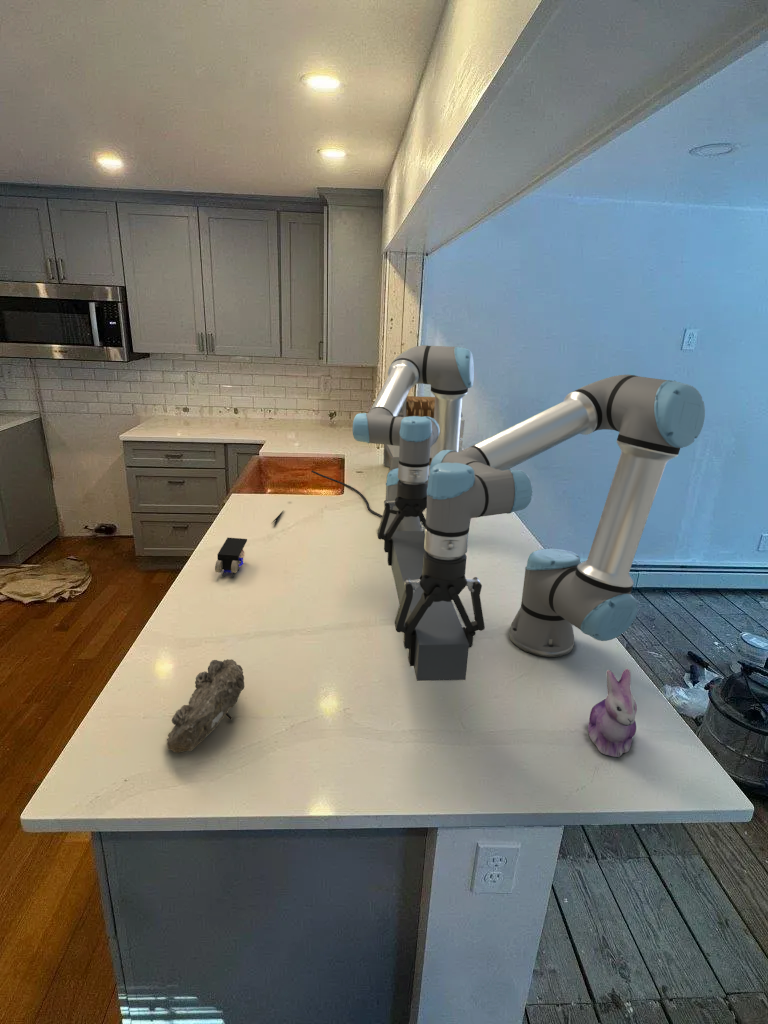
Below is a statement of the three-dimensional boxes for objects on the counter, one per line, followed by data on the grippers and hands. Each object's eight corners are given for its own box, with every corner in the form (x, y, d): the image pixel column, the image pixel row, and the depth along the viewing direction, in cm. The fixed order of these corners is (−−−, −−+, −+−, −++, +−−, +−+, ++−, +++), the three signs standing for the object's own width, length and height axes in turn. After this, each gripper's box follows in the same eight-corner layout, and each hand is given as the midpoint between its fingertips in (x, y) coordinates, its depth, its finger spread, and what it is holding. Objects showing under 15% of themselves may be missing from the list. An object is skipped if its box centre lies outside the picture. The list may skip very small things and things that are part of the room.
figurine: (615, 767, 100) (631, 697, 95) (572, 730, 109) (585, 664, 103) (651, 751, 104) (668, 682, 99) (607, 716, 113) (621, 652, 108)
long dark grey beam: (389, 557, 152) (390, 530, 149) (422, 557, 153) (423, 531, 150) (416, 681, 101) (419, 644, 99) (465, 680, 102) (469, 644, 100)
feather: (290, 505, 227) (293, 501, 226) (273, 528, 200) (276, 524, 200) (286, 502, 226) (289, 498, 226) (269, 525, 200) (272, 521, 199)
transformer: (382, 463, 289) (386, 382, 275) (445, 464, 293) (451, 384, 279) (390, 482, 257) (394, 392, 243) (460, 483, 261) (468, 394, 247)
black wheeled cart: (238, 584, 162) (249, 557, 175) (236, 562, 158) (247, 536, 172) (215, 584, 161) (227, 556, 175) (212, 561, 158) (225, 535, 171)
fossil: (192, 660, 117) (244, 628, 112) (224, 691, 120) (276, 661, 115) (142, 746, 98) (202, 712, 93) (182, 779, 101) (242, 748, 96)
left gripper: (369, 484, 135) (367, 569, 143) (459, 485, 137) (451, 569, 145) (368, 475, 142) (365, 557, 150) (453, 476, 144) (446, 557, 152)
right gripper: (385, 561, 94) (380, 675, 102) (512, 560, 96) (498, 672, 104) (381, 543, 101) (377, 651, 109) (500, 543, 103) (487, 648, 111)
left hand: (407, 563), depth 148 cm, fingers closed on long dark grey beam, 9 cm apart
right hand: (436, 661), depth 107 cm, fingers closed on long dark grey beam, 9 cm apart
